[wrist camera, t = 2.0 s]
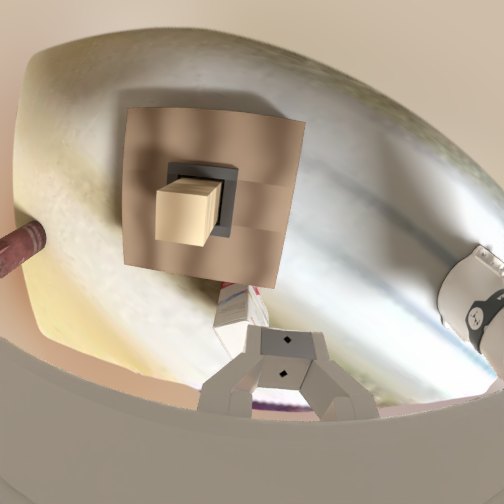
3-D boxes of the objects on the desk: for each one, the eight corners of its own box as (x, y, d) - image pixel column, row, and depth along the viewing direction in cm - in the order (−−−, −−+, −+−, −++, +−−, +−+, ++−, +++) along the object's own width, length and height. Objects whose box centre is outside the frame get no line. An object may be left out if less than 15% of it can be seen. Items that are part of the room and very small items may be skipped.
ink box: (221, 279, 43) (208, 326, 32) (251, 269, 42) (246, 316, 31) (242, 321, 46) (236, 371, 35) (270, 313, 45) (271, 364, 34)
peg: (223, 180, 30) (207, 196, 21) (219, 217, 31) (203, 246, 23) (185, 175, 29) (156, 190, 21) (183, 212, 31) (155, 239, 23)
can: (51, 233, 41) (2, 265, 28) (42, 254, 43) (-2, 287, 30) (34, 213, 39) (-15, 239, 26) (26, 234, 41) (-19, 263, 28)
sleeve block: (296, 126, 33) (306, 121, 25) (272, 261, 41) (274, 293, 33) (153, 112, 33) (124, 107, 24) (146, 242, 41) (120, 267, 32)
